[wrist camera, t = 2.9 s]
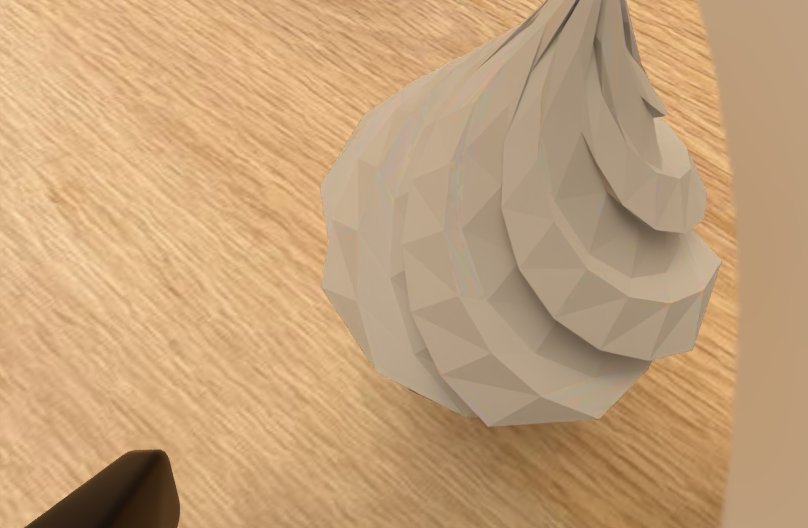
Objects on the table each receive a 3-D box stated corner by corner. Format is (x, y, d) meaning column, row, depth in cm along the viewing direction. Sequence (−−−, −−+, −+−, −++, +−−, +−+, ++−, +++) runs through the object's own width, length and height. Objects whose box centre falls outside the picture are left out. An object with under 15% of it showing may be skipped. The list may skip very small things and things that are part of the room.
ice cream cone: (434, 254, 20) (480, -361, 6) (588, 349, 18) (1136, -140, 4) (331, 397, 18) (38, 30, 4) (492, 512, 17) (885, 561, 3)
